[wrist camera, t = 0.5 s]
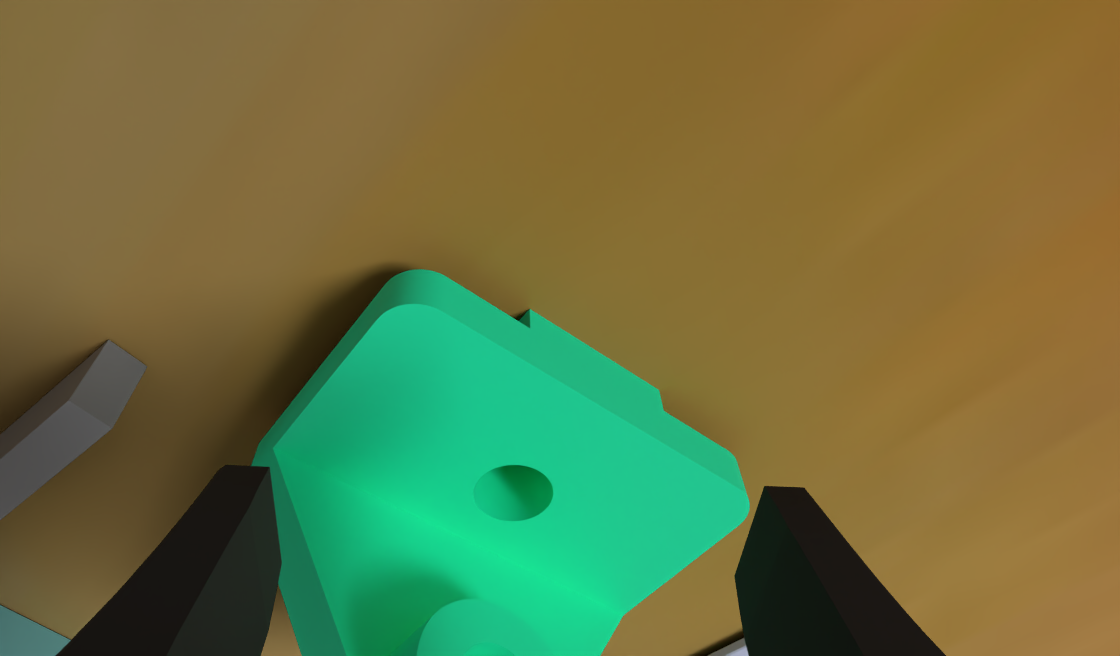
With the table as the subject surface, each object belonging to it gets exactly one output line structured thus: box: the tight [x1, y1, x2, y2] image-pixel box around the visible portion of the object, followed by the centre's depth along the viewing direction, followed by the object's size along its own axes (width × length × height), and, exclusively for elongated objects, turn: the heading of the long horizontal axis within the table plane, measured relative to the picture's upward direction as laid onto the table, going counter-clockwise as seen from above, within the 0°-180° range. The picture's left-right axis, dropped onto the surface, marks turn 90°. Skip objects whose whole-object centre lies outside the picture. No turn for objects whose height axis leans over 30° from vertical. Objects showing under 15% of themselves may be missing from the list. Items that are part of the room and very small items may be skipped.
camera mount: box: [251, 269, 750, 656], centre depth 21 cm, size 12×8×10 cm, turn 51°
